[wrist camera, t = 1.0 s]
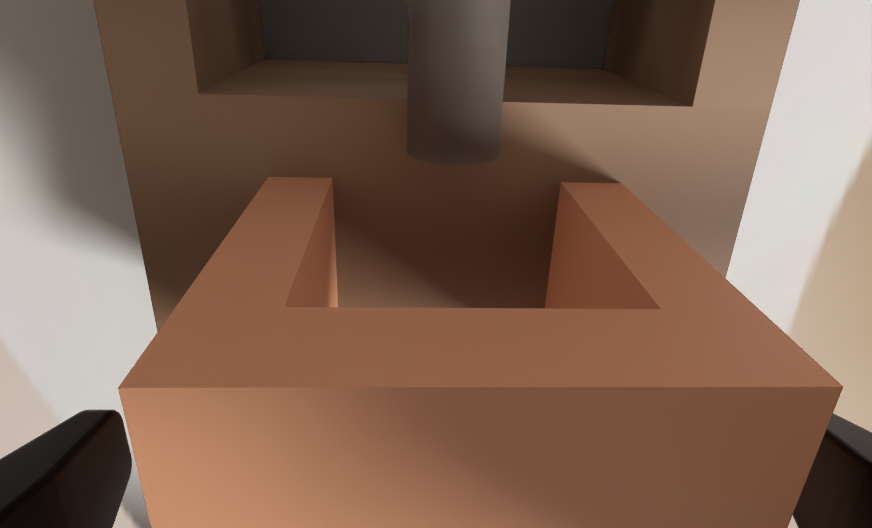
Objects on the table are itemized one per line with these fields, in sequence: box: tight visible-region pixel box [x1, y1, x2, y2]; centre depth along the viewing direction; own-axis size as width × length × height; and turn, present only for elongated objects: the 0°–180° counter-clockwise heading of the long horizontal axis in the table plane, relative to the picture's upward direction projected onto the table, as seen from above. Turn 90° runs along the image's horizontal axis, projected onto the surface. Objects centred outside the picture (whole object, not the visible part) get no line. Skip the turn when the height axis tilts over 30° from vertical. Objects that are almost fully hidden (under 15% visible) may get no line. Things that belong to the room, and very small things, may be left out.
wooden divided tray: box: [94, 0, 800, 332], centre depth 12 cm, size 16×12×7 cm
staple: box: [118, 177, 843, 528], centre depth 9 cm, size 7×4×6 cm, turn 88°
